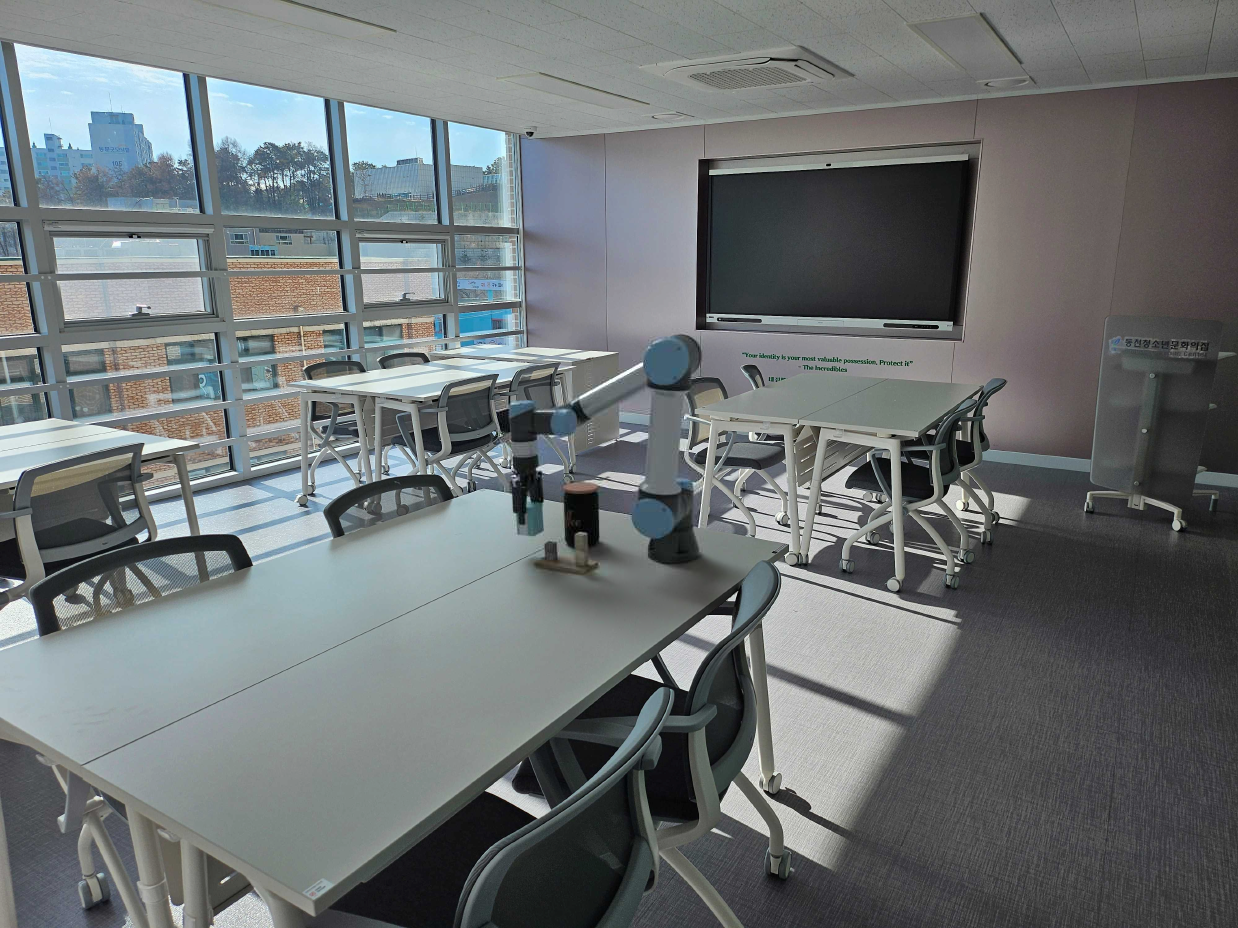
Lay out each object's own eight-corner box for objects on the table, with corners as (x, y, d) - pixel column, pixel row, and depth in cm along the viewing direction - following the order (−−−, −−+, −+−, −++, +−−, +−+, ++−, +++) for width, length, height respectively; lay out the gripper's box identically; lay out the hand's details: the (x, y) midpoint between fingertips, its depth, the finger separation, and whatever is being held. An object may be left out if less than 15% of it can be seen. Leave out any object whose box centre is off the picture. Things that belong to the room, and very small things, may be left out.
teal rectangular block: (527, 529, 248) (525, 501, 247) (543, 530, 246) (541, 502, 244) (517, 534, 244) (515, 506, 242) (533, 536, 241) (531, 507, 239)
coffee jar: (559, 540, 259) (558, 484, 255) (591, 535, 263) (590, 480, 259) (572, 550, 250) (570, 492, 246) (605, 545, 254) (603, 488, 250)
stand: (549, 557, 243) (548, 524, 241) (597, 565, 236) (597, 531, 234) (535, 566, 237) (533, 532, 234) (584, 574, 229) (583, 539, 227)
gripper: (531, 447, 249) (536, 521, 254) (495, 460, 233) (501, 539, 238) (552, 448, 246) (557, 524, 251) (518, 462, 230) (523, 542, 235)
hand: (530, 531), depth 245 cm, fingers closed on teal rectangular block, 6 cm apart
